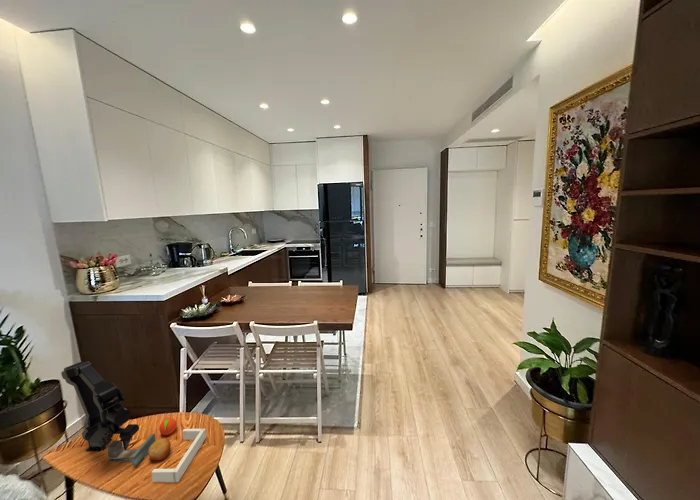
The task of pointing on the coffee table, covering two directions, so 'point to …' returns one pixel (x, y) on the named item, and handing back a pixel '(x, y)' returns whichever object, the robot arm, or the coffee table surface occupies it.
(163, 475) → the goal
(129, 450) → the track
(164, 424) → the clementine
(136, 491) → the coffee table surface
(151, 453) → the fruit
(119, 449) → the kicker
